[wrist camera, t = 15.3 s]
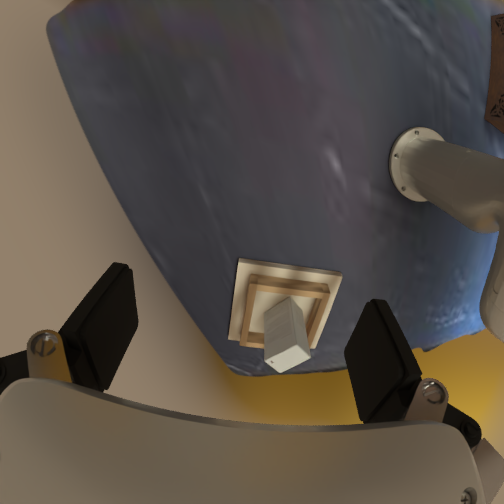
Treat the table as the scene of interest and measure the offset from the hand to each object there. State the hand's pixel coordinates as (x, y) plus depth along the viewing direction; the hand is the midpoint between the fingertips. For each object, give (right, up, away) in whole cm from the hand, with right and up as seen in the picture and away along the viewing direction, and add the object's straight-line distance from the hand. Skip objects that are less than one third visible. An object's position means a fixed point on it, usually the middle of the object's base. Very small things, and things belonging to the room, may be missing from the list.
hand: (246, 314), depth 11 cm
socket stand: (+6, -8, +41) cm, 42 cm away
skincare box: (+6, -8, +40) cm, 41 cm away
